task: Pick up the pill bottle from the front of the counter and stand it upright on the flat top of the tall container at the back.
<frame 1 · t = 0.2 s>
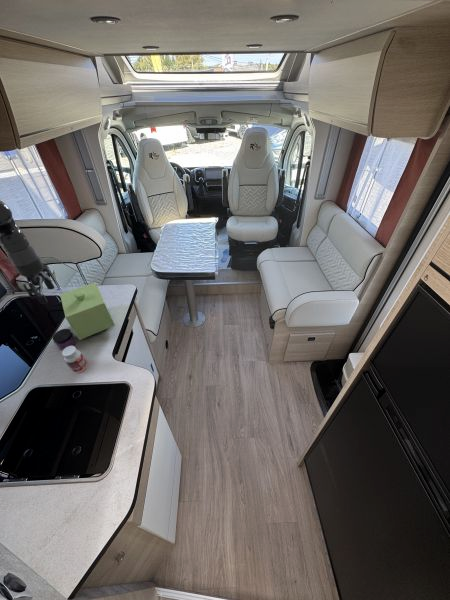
hand: (48, 295, 96), 31 cm above the worktop, tool pointing down, fingers open, 8 cm apart
jar lid: (62, 335, 115), point 6 cm above the worktop, screwed on, not yet turned
jar: (67, 343, 119), on the worktop
pill bottle: (80, 367, 109), on the worktop
container: (95, 324, 128), on the worktop
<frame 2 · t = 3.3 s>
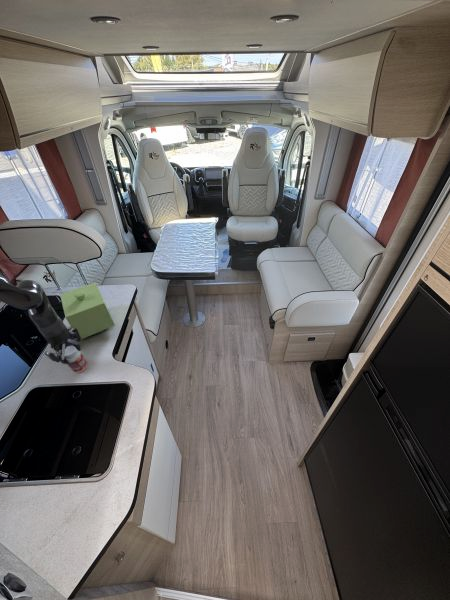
hand: (72, 356, 103), 8 cm above the worktop, tool pointing down, fingers closed on pill bottle, 6 cm apart
pill bottle: (80, 367, 109), on the worktop, touching gripper
everything else where it was.
when the fingers open (25 cm above the worktop, at t = 10.4 s): pill bottle stays where it is, resting on container.
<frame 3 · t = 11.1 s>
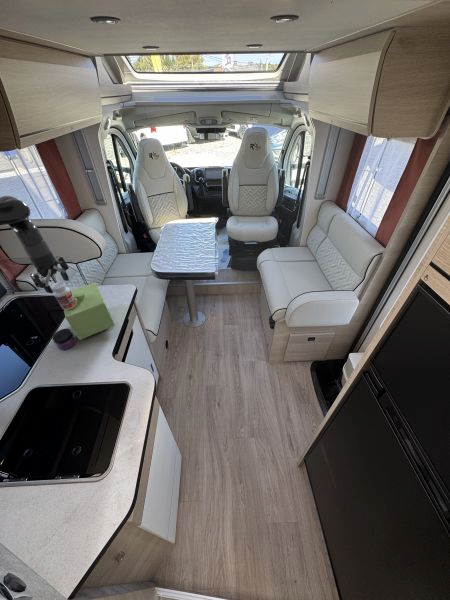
hand: (58, 286, 105), 28 cm above the worktop, tool pointing down, fingers open, 8 cm apart
pill bottle: (69, 305, 112), point 17 cm above the worktop, touching container
container: (95, 324, 128), on the worktop, touching pill bottle
everything else where it was.
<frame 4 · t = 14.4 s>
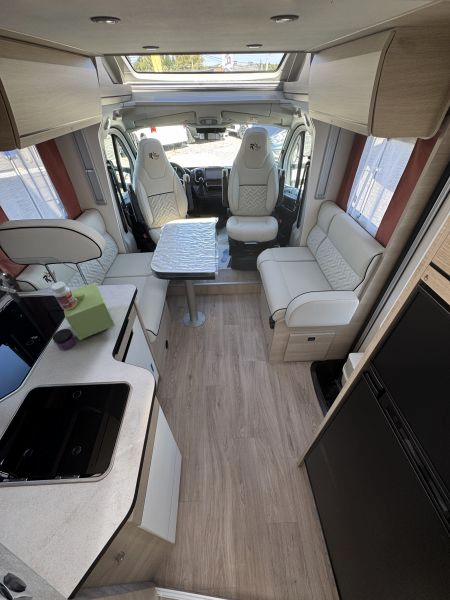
hand: (6, 309, 83), 36 cm above the worktop, tool pointing down, fingers open, 8 cm apart
nothing on the worktop moved.
at the end: pill bottle inside the target area on the container (5.9 cm from its centre), point 17.6 cm above the container's base; pill bottle tilted 0°; the gripper is holding nothing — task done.
